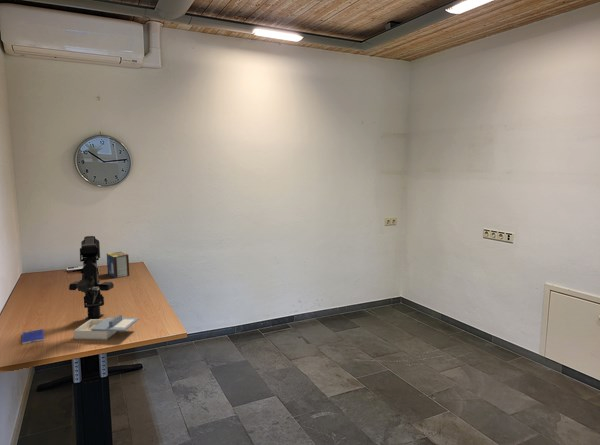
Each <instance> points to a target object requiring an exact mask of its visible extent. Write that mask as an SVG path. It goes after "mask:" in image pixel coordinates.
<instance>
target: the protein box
mask: <svg viewBox="0 0 600 445" xmlns="http://www.w3.org/2000/svg"><path fill="white" fill-rule="evenodd" d="M129 257H130V256H129V254H127V253H125V252H122V251H115V252H108V253H106V263H107V264H106V269H107V275H109V276H110V277H112V278H114V279H119V278H123V277H124V278H125V277H130V275H131V274H130V260H129Z"/></svg>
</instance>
